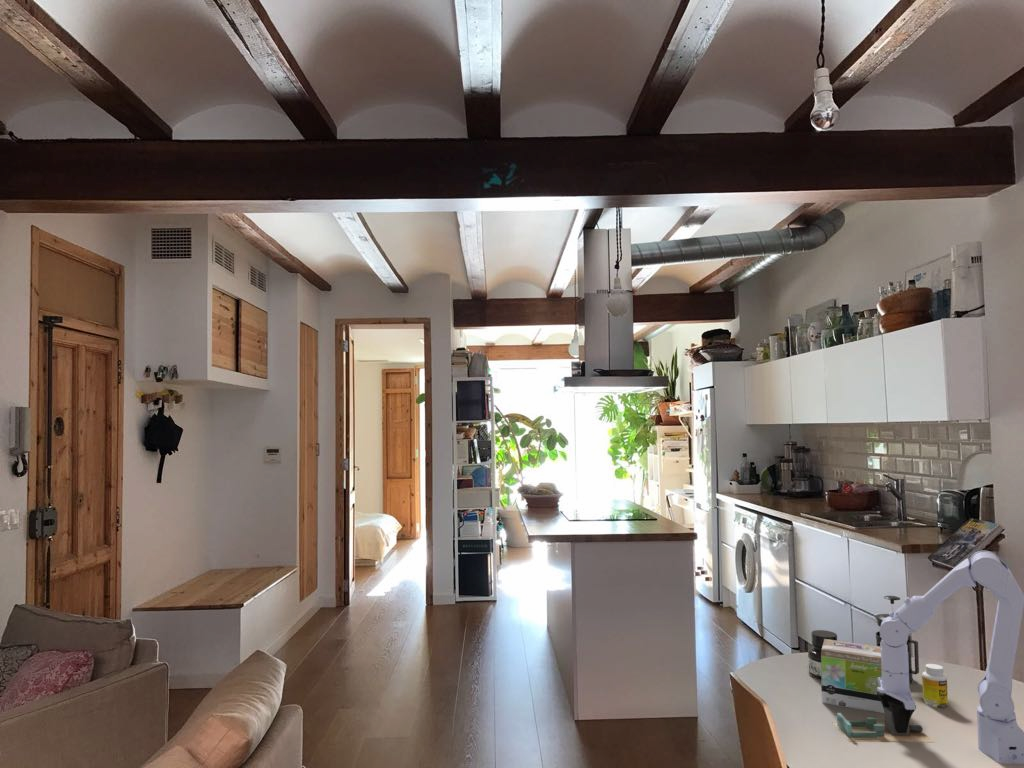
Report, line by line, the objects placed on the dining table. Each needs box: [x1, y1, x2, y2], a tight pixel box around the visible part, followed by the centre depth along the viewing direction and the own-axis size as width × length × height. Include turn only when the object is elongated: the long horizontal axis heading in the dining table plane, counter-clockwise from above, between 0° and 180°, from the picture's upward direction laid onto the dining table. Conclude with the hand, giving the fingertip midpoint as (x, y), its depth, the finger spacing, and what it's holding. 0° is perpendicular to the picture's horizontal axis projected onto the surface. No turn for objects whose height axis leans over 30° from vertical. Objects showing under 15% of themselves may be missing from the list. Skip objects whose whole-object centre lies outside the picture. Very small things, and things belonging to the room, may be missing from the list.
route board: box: [832, 712, 935, 743], centre depth 170 cm, size 10×19×4 cm, turn 87°
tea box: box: [820, 639, 884, 714], centre depth 188 cm, size 15×10×15 cm, turn 62°
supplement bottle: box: [921, 663, 949, 709], centre depth 186 cm, size 6×6×10 cm
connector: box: [883, 707, 924, 735], centre depth 170 cm, size 4×8×5 cm, turn 87°
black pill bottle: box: [807, 629, 838, 680], centre depth 208 cm, size 10×9×12 cm
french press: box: [874, 595, 920, 685], centre depth 205 cm, size 12×9×23 cm
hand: (897, 728), depth 170 cm, fingers closed on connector, 4 cm apart
